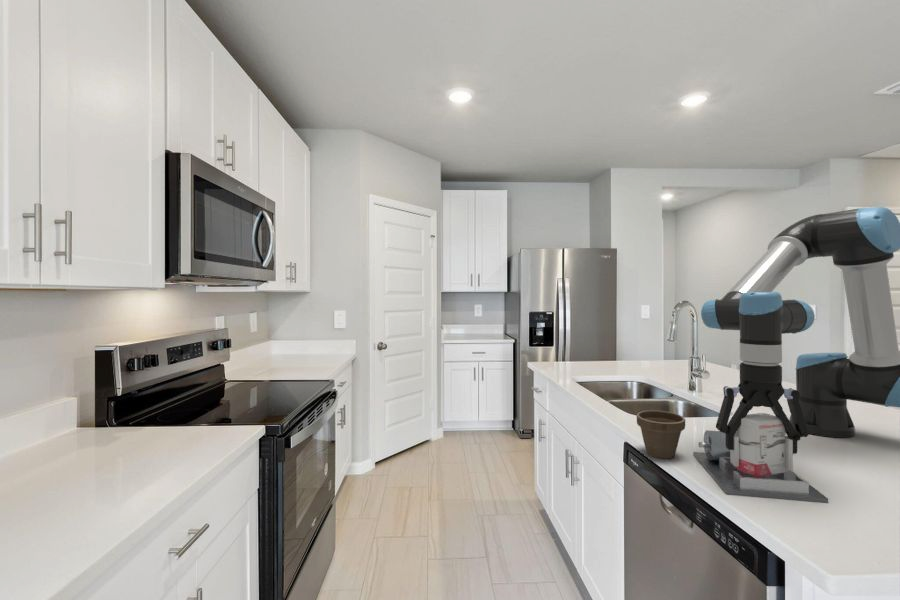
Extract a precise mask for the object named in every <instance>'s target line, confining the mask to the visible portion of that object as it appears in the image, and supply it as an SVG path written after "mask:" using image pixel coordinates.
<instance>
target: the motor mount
mask: <svg viewBox="0 0 900 600" xmlns="http://www.w3.org/2000/svg"><path fill="white" fill-rule="evenodd" d="M735 434H736V435H737V431H736V433H735ZM697 445H698V447H699V448H704V452H703V451H701V452H699V451H693V453H692V454H693V455H692V456H694V458H695V459H696V460H697V461H698V463H699V464H700V465H701V466H702V468H704V470H705V471H706V472H707V473H708V474H709V476H710V477H711V478H712V480H714V481H715V483H716V484H717V485H718V486H719V487H720V489H721V490H722V491H723V492H724V494H725V495H730V496H731V495H732V496H733V495H735V496H743V497H745V496H746V497H754V498H755V497H756V498H757V497H758V498H768V499H778V500H791V501H803V502H804V501H805V502H813V503H815V502H816V503H829V498H828V497H826V495H824V494H822V492H820V491H819V490H818V489H816V488H815V487H813V486H812V485H811V484H809V483H810V482H808V481H807V480H806V479H804V478H803V477H801V476H800V475H798V474H797V473H795V472H794V471H791V470H788V469H786V468H785V472H784V473H779V474H773V475H767V476H761V477H755V476H753V475H750V474H747V473H744V472H742V471H740V470H737V467H735V466H734V465H733V464H732V463H731V462H730V450H729V449H728V448H727V447H726V435H725V433H723V432H720V431H719V430H705V432H704V434H703V441H699V442H698V444H697Z"/></svg>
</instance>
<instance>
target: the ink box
mask: <svg viewBox="0 0 900 600" xmlns="http://www.w3.org/2000/svg"><path fill="white" fill-rule="evenodd" d="M736 432H737V436H738V437H739V467H737V470H740V471H742V472H744V473H747V474H750V475H753V476H755V477H761V476H767V475H773V474H779V473H784V472H785V436H786V432H785V427H784V425H783V423H782V421H781V420H780V419H779V418H777V417H776V416H775V415H772V414H770V413H766V412H757V413H748V414H747V415H746V417H745V418H743V419H741V425H740V427H739V428H738V430H737V431H736Z"/></svg>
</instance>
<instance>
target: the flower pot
mask: <svg viewBox="0 0 900 600" xmlns="http://www.w3.org/2000/svg"><path fill="white" fill-rule="evenodd" d="M636 424H637V426H638V427H639V428H640V429H641V430H640V431H641V436H642V439H643V444H644V447H645V451H646V453H647V455H648V456H651V457H653V458H658V459H665V460H666V459H667V460H668V459H672V458H674V456H675V454H676V452H677V449H678V445H679V443H680V442H679V441H680V437H681V434H682V431H684V430H685V429H686V418H685V417H684V416H682V415H680V414H677V413H674V412H670V411H665V410H664V411H663V410H654V409H653V410H642V411H639V412H637V413H636Z"/></svg>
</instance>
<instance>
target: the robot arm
mask: <svg viewBox="0 0 900 600" xmlns="http://www.w3.org/2000/svg"><path fill="white" fill-rule="evenodd" d="M899 250H900V220H899V218H898V216H897V215H896V213H895V212H893V211H892V210H891V209H889V208H888V207H884V206H875V207H874V206H873V207H860V208H854V209H848V210H842V211H840V210H839V211H835V212H830V213H829V212H827V213H820V214H814V215H809V216H807V217H805V218H802V219H801V220H799V221H796V222H794V223H793V224H791V225H789V226H787V227H786V228H785V229H784V230H782V231H781V232H780V233H777V235H776V236H775V237H773V239H771V241H769V243H768V245H767V251H766V252H765V253H764V254H762V256H761V257H760V258H759V259H758V260H757V261H756V262H755V263H754V265H753V266H752V267H751V268H749V270H748V271H747V272H746V273H745V274H744V275H743V276H742V277H741V278H740V279H739V280H738V281H737V282H736V283H735V285H733V286H732V288H730V290H729V291H728V292H727V293H725V295H724V296H723V297H722V298H721V299H718V298H716V299H709V300H707V301H705V302H704V303H703V305H702V307H701V311H700V317H701V320H702V322H703V324H704V326H706V327H707V328H709V329H716V330H721V331H724V330H725V331H739V360H740V361H742V362H740V364H739V384H738V385H737V386H732V387H731V386H728V385H727V386H724V387H723V389H722V390H723V400H722V401H721V402H722V403H721V407H720V410H719V413H718V417H717V421H716V423H715V428H716V429H717V431H720V432H723V433H725V435H726V447H727V448H728V449H729V450H730V462H731V463H732V464H733V465H734V466H735V467H739V437H738V436H737V435H736V434H735V433H736V432H737V430H738V428H739V427H740V425H741V419H743V418H745V417H746V415H747V414H749V412H750V411H751V410H752V409H753V408H754V407H757V408H759V407H764V408H770V409H771V411H772V412H773V414H774V416H776V417H777V418H779V419H780V420H781V421H782V423H783V425H784V427H785V468H786V469H788V470H791V471H792V472H794V470H793V469H794V466H793V465H794V464H793V463H794V462H793V461H794V460H793V459H794V455H797V453H798V441H800V440H801V438H807V437H808V436H809V434H810V435H816V436H822V437H829V438H850V437H854V436H855V435H856V427H855V424H854V422H853V420H852V417H851V414H850V412H849V409H848V407H847V406H848V405H847V404H848V403H847V402H848V401H855V402H860V403H867V404H874V405H879V406H883V407H884V406H885V407H891V408H892V407H893V408H900V349H899V343H898V336H897V329H896V323H895V322H896V321H895V316H894V308H893V302H892V296H891V295H892V294H891V288H890V287H891V286H890V281H889V280H890V279H889V273H888V266H887V264H888V263H889V262H890V261H892V260H893V258H894V257H895V256H894V253H896V252H898V251H899ZM819 257H820V258H823V257H827V258H828V257H831V258H832V261H833V262H832V263H833V266H836V267H837V268H839V269H841V273H842V277H843V279H842V280H843V285H844V290H845V296H846V298H845V299H846V304H847V309H848V316H849V320H850V321H849V322H850V328H851V334H852V339H853V340H852V341H853V347H854V351H853V352H852V353H851V354H850V355H849V356H848V355H847V353H845V352H816V353H815V352H813V353H804V354H800V355H798V356H797V358H796V364H795V381H796V382H795V384H796V385H795V386H796V387H795V389H794V388H791V387H790V388H784V387H783V384H782V383H783V367H782V365H780V364H782V362H783V348H782V347H783V344H782V343H783V341H782V339H783V338H782V336H783V335H782V334H784V335H785V334H793V335H794V334H798V333H802V332H804V331H807V330H808V329H810V328H811V327H812V325H813V324H814V323H815V318H816V316H815V311H814V310H813V307H811V305H810V304H808V303H806V302H805V301H802V300H799V299H798V300H797V299H783V298H782V295H781V293H779V292H778V291H774V290H775V289H776V287H778V286H779V284H780V283H781V282H782V281H783V280H784V279H785V278H786V276H787V275H789V273H790V272H791V271H792V270H793V268H795V267H797V266H800V265H802V264H804V263H805V261H807V260H808V259H812V258H819ZM738 394H740V395H741V397H742V398H741V400H740V401H739V405H738V407H737V408H736V410H735V412H734V413H733V415H732V417H730V416H731V412H732V409H733V405H734V402H735V398H737V396H738ZM782 396H784V398H785V399H786V402H787V406H788V409H789V412H790V415H789V418H788V416H787V415H786V413H785V411H784V410H783V407H782V405H781V404H780V403H781V402H779V400H780V398H782ZM847 400H848V401H847Z"/></svg>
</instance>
